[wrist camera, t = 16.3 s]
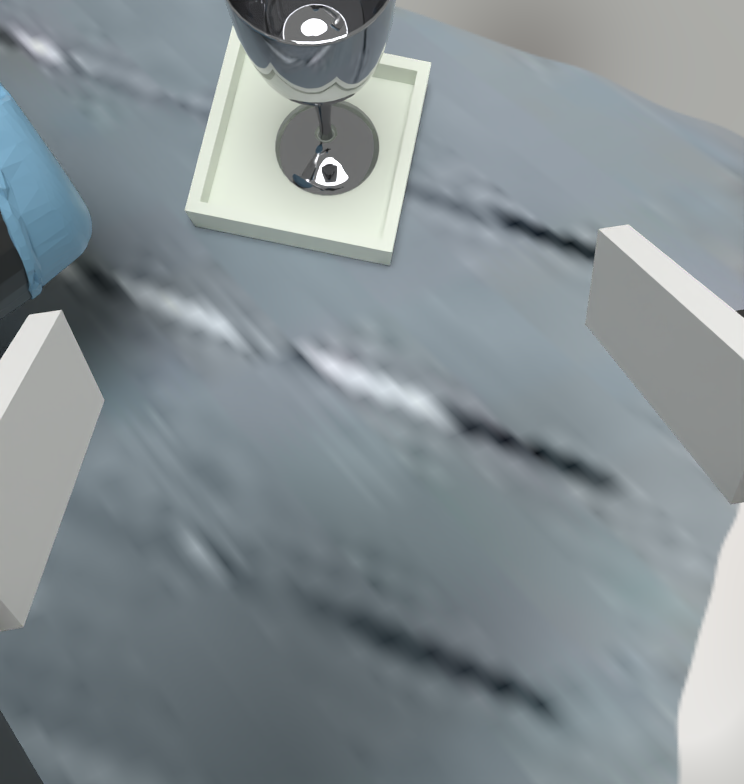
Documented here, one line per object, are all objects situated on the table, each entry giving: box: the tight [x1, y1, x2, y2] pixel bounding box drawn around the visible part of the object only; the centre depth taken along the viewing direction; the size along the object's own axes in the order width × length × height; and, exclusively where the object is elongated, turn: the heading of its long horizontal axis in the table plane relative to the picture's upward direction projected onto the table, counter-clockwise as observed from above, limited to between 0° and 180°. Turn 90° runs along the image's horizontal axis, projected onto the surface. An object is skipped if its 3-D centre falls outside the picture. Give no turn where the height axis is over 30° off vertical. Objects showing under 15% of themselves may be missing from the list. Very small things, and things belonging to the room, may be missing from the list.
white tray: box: [185, 26, 431, 266], centre depth 41 cm, size 14×14×2 cm
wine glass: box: [225, 0, 396, 196], centre depth 34 cm, size 8×8×15 cm
